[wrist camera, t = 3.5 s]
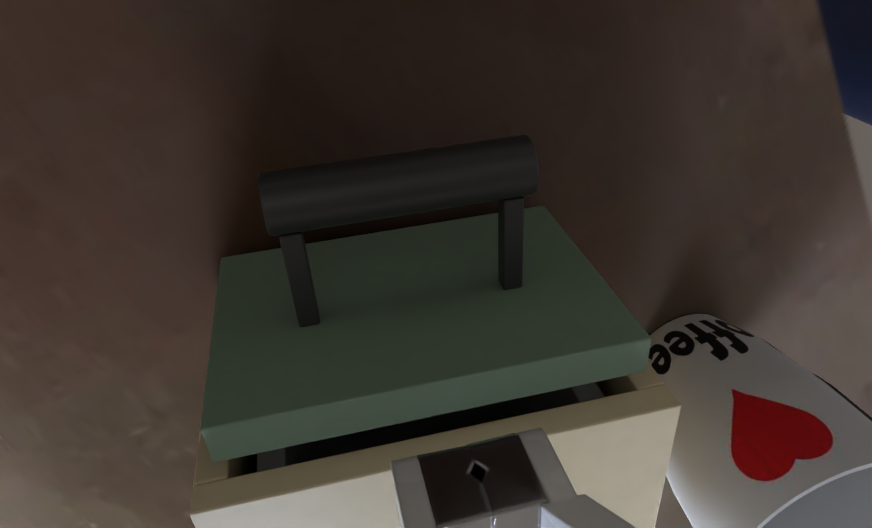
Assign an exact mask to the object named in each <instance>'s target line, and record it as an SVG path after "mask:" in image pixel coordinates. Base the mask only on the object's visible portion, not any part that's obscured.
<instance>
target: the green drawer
mask: <svg viewBox="0 0 872 528" xmlns="http://www.w3.org/2000/svg"><path fill="white" fill-rule="evenodd" d="M538 182H539V165H538V159H537V154H536V150H535V147H534V145H533V143H532V141H531V139H530V138H529V137H528V136H526V135H522V136H515V137H508V138H501V139H494V140H487V141H480V142H473V143H466V144H459V145H452V146H445V147H438V148H431V149H424V150H417V151H410V152H403V153H396V154H389V155H382V156H375V157H368V158H361V159H354V160H347V161H340V162H333V163H326V164H319V165H312V166H306V167H299V168H292V169H285V170H278V171H271V172H264V173H259V174H258V189H259V196H260V202H261V208H262V213H263V217H264V221H265V225H266V229H267V231H268V234H269V235H270V236H277V235H279V240H280V245H281V248H278V249H271V250H265V251H259V252H253V253H247V254H241V255H234V256H228V257H222V258H221V260H220V268H219V276H218V285H217V293H216V301H215V310H214V318H213V326H212V335H211V343H210V351H209V360H208V368H207V376H206V385H205V393H204V401H203V410H202V418H201V426H200V431H201V434H202V436H203V439H204V442H205V444H206V447H207V449H208V452H209V455H210V457H211V460H212V462H214V463H215V462H219V461H224V460H229V459H234V458H238V457H243V456H248V455H252V454H257V472H260V471H265V470H269V469H274V468H279V467H283V466H288V465H292V464H297V463H302V462H306V461H311V460H316V459H320V458H325V457H330V456H334V455H339V454H343V453H348V452H353V451H357V450H362V449H367V448H371V447H376V446H381V445H385V444H390V443H394V442H399V441H404V440H408V439H413V438H418V437H422V436H427V435H432V434H436V433H441V432H445V431H450V430H455V429H459V428H464V427H469V426H473V425H478V424H483V423H487V422H492V421H496V420H501V419H506V418H510V417H515V416H520V415H524V414H529V413H534V412H538V411H543V410H547V409H552V408H557V407H561V406H566V405H571V404H575V403H580V402H585V401H589V400H594V399H598V398H603V397H605V396H604V395H603V393H602V392H601V390H600V388H599V387H598V385H597V384H596V382H598V381H603V380H608V379H612V378H617V377H622V376H627V375H631V374H636V373H641V372H645V371H646V368H647V362H648V356H649V350H650V344H651V337H650V336H649V335H648V333H647V332H646V331H645V330H644V328H643V327H642V326H641V325H640V324H639V322H638V321H637V320H636V319H635V317H634V316H633V315H632V314H631V312H630V311H629V310H628V309H627V308H626V306H625V305H624V304H623V303H622V301H621V300H620V299H619V298H618V296H617V295H616V294H615V293H614V292H613V290H612V289H611V288H610V287H609V285H608V284H607V283H606V282H605V280H604V279H603V278H602V277H601V276H600V274H599V273H598V272H597V271H596V269H595V268H594V267H593V266H592V264H591V263H590V262H589V261H588V259H587V258H586V257H585V256H584V255H583V253H582V252H581V251H580V250H579V248H578V247H577V246H576V245H575V243H574V242H573V241H572V240H571V239H570V237H569V236H568V235H567V234H566V232H565V231H564V230H563V229H562V227H561V226H560V225H559V224H558V223H557V221H556V220H555V219H554V218H553V216H552V215H551V214H550V213H549V211H548V210H547V209H546V208H545V207H544V206H543V205H542V206H536V207H530V208H524V197H523V196H528V195H533V194H534V193H535V192H536V190H537V187H538ZM497 200H498V213H493V214H487V215H481V216H475V217H468V218H462V219H456V220H450V221H444V222H438V223H432V224H425V225H419V226H413V227H407V228H401V229H395V230H388V231H382V232H376V233H370V234H364V235H358V236H351V237H345V238H339V239H333V240H327V241H321V242H315V243H308V244H305V240H304V235H303V231H308V230H315V229H321V228H327V227H333V226H340V225H346V224H352V223H359V222H365V221H371V220H377V219H384V218H390V217H396V216H403V215H409V214H415V213H421V212H428V211H434V210H440V209H447V208H453V207H459V206H465V205H472V204H478V203H484V202H490V201H497Z"/></svg>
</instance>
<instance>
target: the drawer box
mask: <svg viewBox="0 0 872 528" xmlns="http://www.w3.org/2000/svg"><path fill="white" fill-rule="evenodd" d="M216 293H217V292H216ZM214 310H215V308H214ZM213 318H214V317H213ZM212 326H213V325H212ZM211 335H212V333H211ZM210 343H211V342H210ZM209 351H210V350H209ZM208 360H209V358H208ZM207 368H208V367H207ZM206 376H207V375H206ZM596 384H597V385H598V387H599V388H600V390H601V392H602V393H603V395H604V396H605V397H603V398H598V399H594V400H589V401H585V402H580V403H575V404H571V405H566V406H561V407H557V408H552V409H547V410H543V411H538V412H534V413H529V414H524V415H520V416H515V417H510V418H506V419H501V420H496V421H492V422H487V423H483V424H478V425H473V426H469V427H464V428H459V429H455V430H450V431H445V432H441V433H436V434H432V435H427V436H422V437H418V438H413V439H408V440H404V441H399V442H394V443H390V444H385V445H381V446H376V447H371V448H367V449H362V450H357V451H353V452H348V453H343V454H339V455H334V456H330V457H325V458H320V459H316V460H311V461H306V462H302V463H297V464H292V465H288V466H283V467H279V468H274V469H269V470H265V471H260V472H257V454H252V455H248V456H243V457H238V458H234V459H229V460H224V461H219V462H215V463H214V462H212V460H211V457H210V455H209V452H208V449H207V447H206V444H205V442H204V439H203V436H202V434H201V431H200V433H199V441H198V450H197V458H196V466H195V475H194V483H193V485H194V486H193V488H192V496H191V504H190V513H189V514H190V517H191V519H192V521H193V523H194V526H195V528H400V524H399V518H398V512H397V506H396V500H395V493H394V486H393V479H392V472H391V465H390V463H391V461H393V460H398V459H403V458H407V457H412V456H417V455H421V454H426V453H431V452H436V451H441V450H446V449H451V448H456V447H461V446H466V444H470V443H474V442H478V441H483V440H487V439H491V438H495V437H499V436H503V435H507V434H511V433H515V434H516V433H518V432H523V431H527V430H531V429H536V428H540V427H541V428H542V429H543V430H544V431H545V433H546V435H547V437H548V439H549V440H550V442H551V444H552V446H553V448H554V450H555V452H556V454H557V456H558V458H559V460H560V462H561V464H562V466H563V468H564V470H565V472H566V474H567V476H568V478H569V480H570V482H571V484H572V486H573V488H574V490H575V492H576V494H577V495H582V494H586V495H587V496H589V497H590V498H592V499H593V500H595V501H596V502H598V503H599V504H601V505H602V506H604V507H605V508H607V509H609V510H610V511H612V512H613V513H615V514H616V515H618V516H619V517H621V518H622V519H624V520H625V521H627V522H628V523H630V524H631V525H633V526H634V527H636V528H655V523H656V519H657V514H658V509H659V505H660V500H661V496H662V491H663V487H664V482H665V478H666V473H667V468H668V464H669V459H670V455H671V450H672V446H673V441H674V436H675V432H676V427H677V423H678V418H679V414H680V409H681V404H680V402H679V401H678V400H677V399H676V397H675V396H674V395H673V393H672V392H671V391H670V389H669V388H668V387H667V385H665V384H664V382H663V380H662V379H661V378H660V376H659V375H658V374H657V373H656V371H655V370H654V369H653V367H652V366H651V365H650V363H649V362H647V368H646V371H645V372H641V373H636V374H631V375H627V376H622V377H617V378H612V379H608V380H603V381H598V382H596ZM205 385H206V383H205ZM204 393H205V392H204ZM203 401H204V400H203ZM202 410H203V408H202ZM201 418H202V416H201ZM200 426H201V425H200Z"/></svg>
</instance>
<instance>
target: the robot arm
mask: <svg viewBox="0 0 872 528" xmlns="http://www.w3.org/2000/svg"><path fill="white" fill-rule="evenodd" d="M390 465H391V472H392V479H393V486H394V493H395V500H396V506H397V512H398V518H399V524H400V528H636V527H634V526H633V525H631V524H630V523H628V522H627V521H625V520H624V519H622V518H621V517H619V516H618V515H616V514H615V513H613V512H612V511H610V510H609V509H607V508H605V507H604V506H602V505H601V504H599V503H598V502H596V501H595V500H593V499H592V498H590V497H589V496H587V495H586V494H582V495H577V494H576V492H575V490H574V488H573V486H572V484H571V482H570V480H569V478H568V476H567V474H566V472H565V470H564V468H563V466H562V464H561V462H560V460H559V458H558V456H557V454H556V452H555V450H554V448H553V446H552V444H551V442H550V440H549V439H548V437H547V435H546V433H545V431H544V430H543V429H542V428H541V427H540V428H536V429H531V430H527V431H523V432H518V433H516V434H515V433H511V434H507V435H503V436H499V437H495V438H491V439H487V440H483V441H478V442H474V443H470V444H466V446H461V447H456V448H451V449H446V450H441V451H436V452H431V453H426V454H421V455H417V456H412V457H407V458H403V459H398V460H393V461H391V463H390Z"/></svg>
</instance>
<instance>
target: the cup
mask: <svg viewBox="0 0 872 528" xmlns="http://www.w3.org/2000/svg"><path fill="white" fill-rule="evenodd" d="M650 337H651V344H650V350H649V356H648V362H649V363H650V365H651V366H652V367H653V369H654V370H655V371H656V373H657V374H658V375H659V376H660V378H661V379H662V380H663V382H664V384H665V385H667V387H668V388H669V389H670V391H671V392H672V393H673V395H674V396H675V397H676V399H677V400H678V401H679V402H680V404H681V409H680V414H679V418H678V423H677V427H676V432H675V436H674V441H673V446H672V450H671V455H670V459H669V464H668V468H667V473H666V476H667V478H668V481H669V483H670V485H671V488H672V490H673V492H674V494H675V496H676V498H677V500H678V501H679V503H680V505H681V507H682V508H683V510H684V512H685V514H686V516H687V517H688V519H689V521H690V523H691V525H692V526H693V528H872V418H871V417H870V416H869V415H868V414H866V413H865V412H864V411H863V410H861V409H860V408H859V407H858V406H857V405H855V404H854V403H853V402H852V401H851V400H849V399H848V398H847V397H846V396H844V395H843V394H842V393H841V392H840V391H838V390H837V389H836V388H835V387H833V386H832V385H831V384H829V383H827V382H826V381H824V380H823V379H821V378H820V377H818V376H817V375H815V374H814V373H812V372H811V371H809V370H808V369H806V368H805V367H803V366H802V365H800V364H799V363H797V362H796V361H794V360H793V359H791V358H790V357H788V356H787V355H785V354H784V353H782V352H781V351H779V350H778V349H776V348H775V347H773V346H772V345H770V344H769V343H767V342H766V341H764V340H763V339H761V338H759V337H757V336H754V335H752V334H750V333H748V332H746V331H744V330H742V329H740V328H737V327H735V326H733V325H731V324H729V323H727V322H725V321H723V320H720V319H718V318H716V317H714V316H711V315H707V314H692V315H686V316H683V317H680V318H677V319H674V320H672V321H670V322H668V323H666V324H665V325H663V326H661V327H660V328H659V329H657V330H656V331H655V332H653V333H652V334H651V335H650Z"/></svg>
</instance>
